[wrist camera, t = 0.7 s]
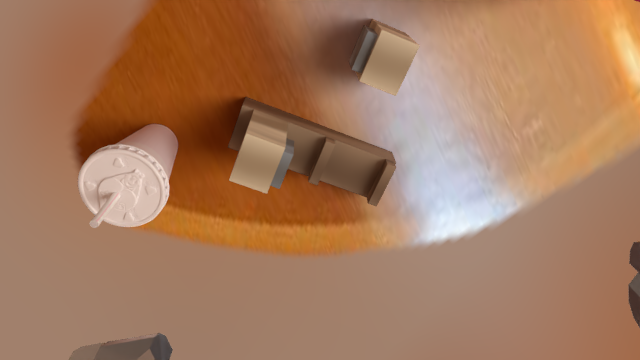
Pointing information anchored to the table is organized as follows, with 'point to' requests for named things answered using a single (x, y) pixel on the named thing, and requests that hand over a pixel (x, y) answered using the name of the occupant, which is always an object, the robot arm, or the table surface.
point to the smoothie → (129, 177)
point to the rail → (304, 153)
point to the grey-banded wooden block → (383, 56)
